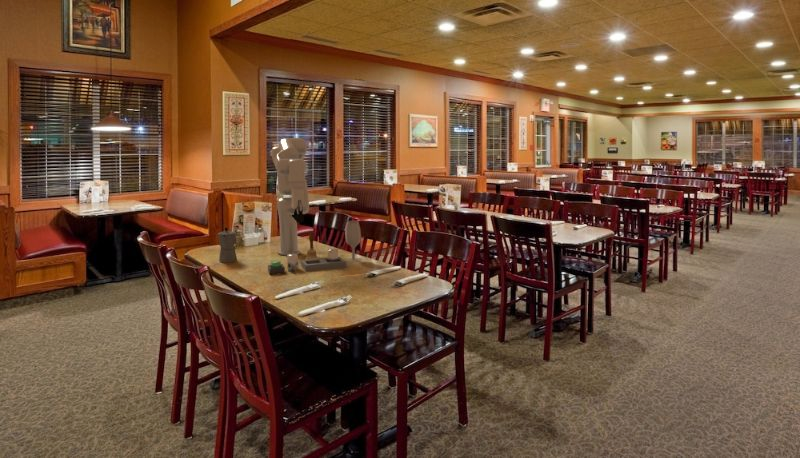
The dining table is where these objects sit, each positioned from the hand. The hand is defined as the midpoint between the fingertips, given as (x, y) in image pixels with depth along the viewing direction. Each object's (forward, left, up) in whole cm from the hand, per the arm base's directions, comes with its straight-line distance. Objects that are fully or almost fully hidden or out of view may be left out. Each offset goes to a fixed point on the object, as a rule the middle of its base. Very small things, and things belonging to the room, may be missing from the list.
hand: (298, 220), depth 243 cm
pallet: (0, +11, -24) cm, 27 cm away
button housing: (0, -12, -24) cm, 27 cm away
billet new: (0, -4, -24) cm, 25 cm away
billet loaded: (0, +16, -24) cm, 28 cm away
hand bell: (-18, +9, -25) cm, 31 cm away
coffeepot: (-36, -32, -25) cm, 54 cm away
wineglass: (-8, +29, -25) cm, 39 cm away
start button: (0, -12, -22) cm, 25 cm away
